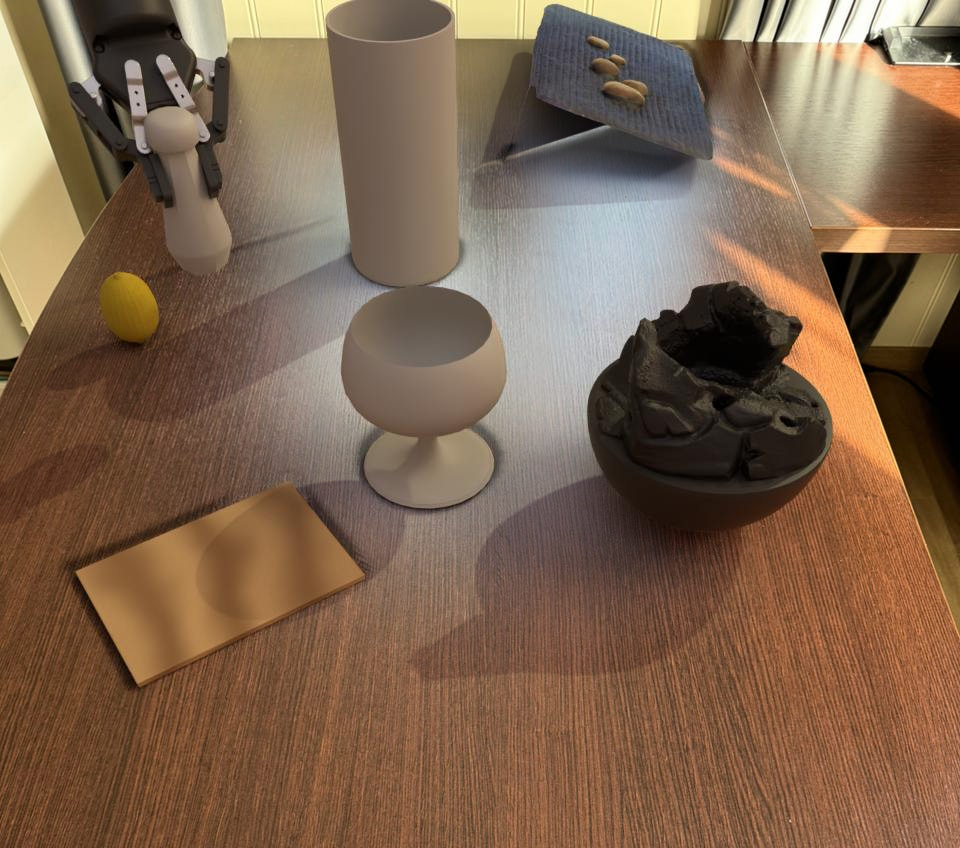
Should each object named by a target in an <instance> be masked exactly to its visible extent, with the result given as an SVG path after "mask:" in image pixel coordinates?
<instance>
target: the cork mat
mask: <svg viewBox="0 0 960 848" xmlns="http://www.w3.org/2000/svg"><path fill="white" fill-rule="evenodd" d="M75 574H76V576H77V579H78V580H79V582H80V584H81V585H82V587H83V589H84V591H85V593H86V594H87V596H88V598H89V600H90V602H91V604H92V606H93V607H94V609H95V611H96V612H97V615H98V616H99V618H100V620H101V622H102V623H103V626H104V627H105V629H106V631H107V633H108V635H109V636H110V638H111V640H112V642H113V643H114V646H115V647H116V649H117V651H118V653H119V655H120V657H121V658H122V660H123V662H124V663H125V665H126V667H127V669H128V671H129V672H130V675H131V676H132V678H133V680H134V682H135V683H136V685H137V687H138V688H142V687H144V686H146V685H148V684H151V683H152V682H154V681H156V680H158V679H160V678H163V677H165V676H168V675H169V674H171V673H173V672H175V671H177V670H179V669H181V668H183V667H185V666H188V665H190V664H192V663H194V662H196V661H198V660H201V659H202V658H204V657H206V656H209V655H210V654H213V653H215V652H217V651H219V650H221V649H224V648H225V647H227V646H229V645H231V644H233V643H236V642H237V641H240V640H242V639H244V638H246V637H248V636H250V635H252V634H255V633H256V632H259V631H260V630H262V629H265V628H267V627H269V626H271V625H273V624H275V623H277V622H279V621H282V620H283V619H285V618H288V617H289V616H292V615H294V614H296V613H298V612H300V611H303V610H305V609H306V608H308V607H311V606H312V605H315V604H317V603H319V602H321V601H323V600H325V599H327V598H329V597H331V596H333V595H335V594H337V593H340V592H341V591H344V590H346V589H348V588H350V587H352V586H354V585H356V584H359V583H360V582H362V581H364V580H366V575H365V573H364V572H363V570H362V569H361V568H360V567H359V565H358V564H357V563H356V562H355V560H354V559H353V557H352V556H351V555H350V554H349V553H348V552H347V550H345V548H344V547H343V546H342V544H341V543H340V542H339V541H338V540H337V538H336V537H335V536H334V535H333V533H332V532H331V531H330V529H329V528H328V527H327V526H326V525H325V523H324V522H323V521H322V520H321V518H320V517H319V516H318V515H317V514H316V511H314V510H313V509H312V508H311V506H310V505H309V504H308V502H307V501H306V500H305V498H304V497H302V495H301V493H300V492H299V491H298V490H297V489H296V487H295V486H294V485H293V484H292V482H291V481H290V480H288V481H284V482H282V483H280V484H278V485H276V486H273V487H270V488H269V489H266V490H264V491H261V492H259V493H256V494H253V495H252V496H249V497H247V498H245V499H242V500H240V501H238V502H235V503H232V504H230V505H228V506H226V507H224V508H221V509H219V510H217V511H214V512H211V513H209V514H207V515H204V516H202V517H200V518H198V519H195V520H193V521H190V522H188V523H186V524H183V525H181V526H178V527H176V528H174V529H171V530H169V531H167V532H164V533H162V534H159V535H158V536H155V537H153V538H150V539H148V540H146V541H143V542H141V543H138V544H136V545H134V546H131V547H129V548H127V549H124V550H122V551H120V552H117V553H115V554H113V555H111V556H108V557H106V558H103V559H101V560H98V561H96V562H94V563H91V564H89V565H86V566H84V567H82V568H80V569H78V570H75Z"/></svg>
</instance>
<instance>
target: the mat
mask: <svg viewBox="0 0 960 848" xmlns="http://www.w3.org/2000/svg"><path fill="white" fill-rule="evenodd" d="M537 28H538V29H537V30H536V36H535V39H534V45H533V52H532V56H531V57H532V58H531V68H530V70H531V71H530V75H529V83H528V88H527V90H526V91H527V92H526V94H525V98H524V100H523V104H522V106H521V107H522V108H521V110H520V113H519V117H518V119H517V123H516V127H515V129H514V133H513V134H512V137H511V140H510V143H509V145H508V148H507V151H509V149H510V147H511V146H512V143H513V140H514V136H515V133H516V129H517V126H518V124H519V121H520V119H521V115H522V113H523V110H524V106H525V103H526V101H527V96H528V93H529V91H530V89H531V87H533V88H534V89H535V92H536V93H535V95H536V98H537V99H539V100H541V101H543V102H544V103H547V104H549V105H551V106H554V107H556V108H559V109H562V110H564V111H567V112H570V113H571V114H575V115H578V116H580V117H583V118H585V119H589V120H592V121H594V122H598V123H601V124H603V125H606V126H610V127H612V128H614V129H617V130H619V131H622V132H624V133H626V134H629V135H632V136H634V137H636V138H639V139H641V140H644V141H647V142H650V143H653V144H656V145H658V146H659V145H660V146H662V147H665V148H667V149H671V150H674V151H677V152H679V153H683V154H685V155H689V156H691V157H694V158H696V159H700V160H704V161H712V160H713V159H714V158H713V156H714V145H713V139H712V136H711V133H710V127H709V123H708V121H707V116H706V114H705V107H704V105H705V102H706V98H705V95H704V93H703V90H702V88H701V87H700V84H699V81H698V78H697V76H696V72H695V68H694V64H693V60H692V57H691V56H690V54H689V53H688V52H687V51H686V50H685V49H684V48H682V47H679V46H677V45H675V44H671V43H669V42H667V41H666V40H665V41H664V40H662V39H660V38H658V37H655V36H653V35H650V34H647V33H644V32H640V31H638V30H636V29H633V28H631V27H629V26H625V25H623V24H620V23H617V22H614V21H611V20H607V19H605V18H602V17H600V16H599V17H598V16H595V15H592V14H589V13H586V12H583V11H580V10H578V9H575V8H572V7H569V6H566V5H563V4H560V3H551V4H548V5H546V6H545V7H544V8H543V14H542V18H541V20H540V24H539V26H538V27H537ZM686 53H687V54H688V55H689V56H687V54H686ZM701 90H702V91H701ZM506 158H507V156H506V155H505V156H504V158H503V161H502V162H505V159H506Z"/></svg>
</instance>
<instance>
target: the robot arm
mask: <svg viewBox="0 0 960 848" xmlns="http://www.w3.org/2000/svg"><path fill="white" fill-rule="evenodd" d="M71 2H72V5H73V8H74V11H75V14H76V16H77V19H78V22H79V24H80V28H81V30H82V33H83V36H84V38H85V42H86V43H87V47H88V49H89V52H90V54H91V58H92V62H93V63H92V75H91V76H90V77H88V78H87V79H85V80H84V81H83V82H81V83H80V82H78V81H71V82H70V83H69V84H68V86H67V91H68V96H69V101H70V106H71V108H72V109H73V110H74V111H75V113H76V114H77V115H78V116H79V118H80V119H81V120H82V121H83V122H84V124H86V126H87V127H88V129H90V131H91V133H93V134H94V136H95V137H96V138H97V139H98V140H99V141H100V143H101V144H102V146H103V147H104V148H105V149H106V150H107V152H109V154H110V155H111V156H112V158H114V160H116V161H117V162H119V163H125V162H126V161H128V162H134V163H136V164H137V165H138V166H140V168H141V171H142V173H143V174H142V175H143V176H144V180H145V182H146V184H147V187H148V190H149V193H150V195H151V198H152V199H153V200H154V202H155V203H156V204H157V203H161V204H162V203H163V206H164V208H165V209H166V208H171V207H173V197H172V194H171V191H170V188H169V186H168V183H167V180H166V177H165V174H164V172H163V169H162V166H161V163H160V161H159V158H158V155H157V152H156V153H154V149H153V148H151V147H150V146H149V144H148V143H147V139H146V136H145V130H144V119H145V118H146V116H147V115H148V114H149V113H150V112H151V111H153V110H155V109H157V108H162V107H181V108H184V109H186V110H187V111H189V112H190V113H191V114H193V115H194V117H195V119H196V122H197V125H198V130H199V136H200V138H199V142H198V143H197V144H196V145H195V149H196V151H197V153H198V156H199V158H200V162H201V166H202V170H203V174H204V178H205V181H206V185H207V189H208V192H209V196H210V199H213V198H216V199H218V198H219V195H220V190H222V187H223V173H222V170H221V168H220V165H219V162H218V159H217V156H216V154H215V151H214V146H216V144H221V143H224V142H225V141H226V139H227V130H228V127H229V101H230V75H231V74H230V71H231V70H230V69H231V65H230V61H229V60H228V59H227V58H226V57H225V56H218V57H216V58H215V60H211V59H206V58H201V57H197V55H196V53H195V51H194V49H192V48H191V47H190V45H188V43H187V42H186V40H185V38H184V36H183V33H182V31H181V28H180V25H179V22H178V19H177V16H176V13H175V11H174V8H173V5H172V2H171V0H71ZM196 75H198V76H199V77H200V78H201V79H202V81H203V86H204V88H205V89H206V90H207V91H209V92H212V105H211V106H212V107H211V108H212V110H211V121H209V122H208V123H206V124H205V123H204V120H203V119H202V117H201V115H200V114H199V111H198V108H197V106H196V103H195V101H194V100H193V98H192V96H191V93H192V89H193V85H194V82H195V78H196ZM101 92H102V93H103V94H104V95H106V96H107V97H108V98H109V99H111V100H112V101H113V102H114V103H116V104H117V105H118V106H119V107H120V108H122V110H124V111H125V112H127V114H129V115H130V123H131V129H132V135H133V138H129V137H125V136H124V134H123V133H122V131H120V129H118V127H117V125H115V124H114V122H113V121H112V120H111V119H110V117H109V116H108V115H107V114H106V113H105V112H104V110H103V106H104V105H103V99H102V97H101V95H100V94H101Z"/></svg>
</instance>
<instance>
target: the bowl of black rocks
mask: <svg viewBox="0 0 960 848" xmlns="http://www.w3.org/2000/svg"><path fill="white" fill-rule="evenodd" d="M803 329H804V326H803V323H802V321H801V320H800V318H798V316H795V315H787V314H785V313H784V312H783V311H781V310H778V309H774V308H771V307H768V306H767V305H766V304H765V302H764V301H763V299H761V298H760V297H759V296H758V295H757V294H756V293H755V292H754V291H753V290H752V289H751V288H750V287H749V286H747V285H740V284H739V282H738V281H737V280H729V281H725V282H724V281H723V282H719V283H709V284H702V285H698V286H696V287H694V288H693V289H692V290H691V293H690V297H689V299H688V301H687V304H685V305H684V307H683V308H682V309H681V310H679V312H678V311H676V310H675V309H666V308H665V309H662V310H660V312H659V317H658V318H656V319H652V320H649V319H648V318H647V317H643V318H642V319H640V320H639V323H638V326H637V327H636V331H635V333H634V334H631V335H629V337H628V338H627V339H626V341H625V342H624V344H623V347H622V350H621V352H620V355H619V357H618V358H617V359H615V360H614V361H613V362H611V363H610V364H608V365H607V366H606V367H605V368H604V369H603V370H602V371H601V373H600V374H599V375H598V376H597V378H596V379H595V380H594V382H593V385H592V387H591V389H590V391H589V394H588V398H587V405H586V419H587V431H588V437H589V442H590V445H591V448H592V452H593V454H594V457H595V461H596V462H597V464H598V466H599V468H600V470H601V472H602V475H603V476H604V477H605V479H606V481H607V482H608V483H609V485H610V487H611V488H612V489H613V490H614V492H615V493H616V494H617V495H618V496H619V497H620V498H621V499H622V500H623V501H624V502H625V503H626V504H627V505H629V507H631V508H632V509H634V510H635V511H637V512H638V513H640V514H641V515H643V516H644V517H646V518H648V519H649V520H652V521H653V522H656V523H657V524H660V525H663V526H665V527H669V528H672V529H676V530H680V531H686V532H692V533H718V532H719V533H720V532H726V531H732V530H737V529H741V528H745V527H747V526H750V525H752V524H755V523H759V522H760V521H763V520H764V519H767V518H768V517H770V516H771V515H773V514H775V513H777V512H778V511H780V510H781V509H783V508H784V507H785V506H787V505H788V504H789V503H790V502H792V500H794V499H795V498H796V497H797V496H798V495H799V494H800V493H801V492H802V491H803V490H804V489H805V488H806V487H807V486H808V485H809V483H811V481H812V480H813V479H814V477H815V476H816V475H817V473H818V471H819V470H820V468H822V465H823V463H824V461H825V459H826V458H827V456H828V453H830V449H831V446H832V442H833V437H834V423H833V417H832V414H831V411H830V408H829V406H828V404H827V402H826V401H825V399H824V397H823V396H822V394H821V393H820V392H819V391H818V389H817V388H816V387H815V386H814V385H813V384H812V383H811V381H809V380H808V379H807V378H806V377H805V376H804V375H802V374H801V373H799V372H798V371H797V370H795V369H794V368H792V367H791V366H789V365H787V364H786V363H784V360H785V359H786V358H787V357H788V356H790V354H791V350H792V349H793V346H794V345H795V343H796V341H797V340H798V338H799V337H800V334H801V333H802V331H803Z"/></svg>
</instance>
